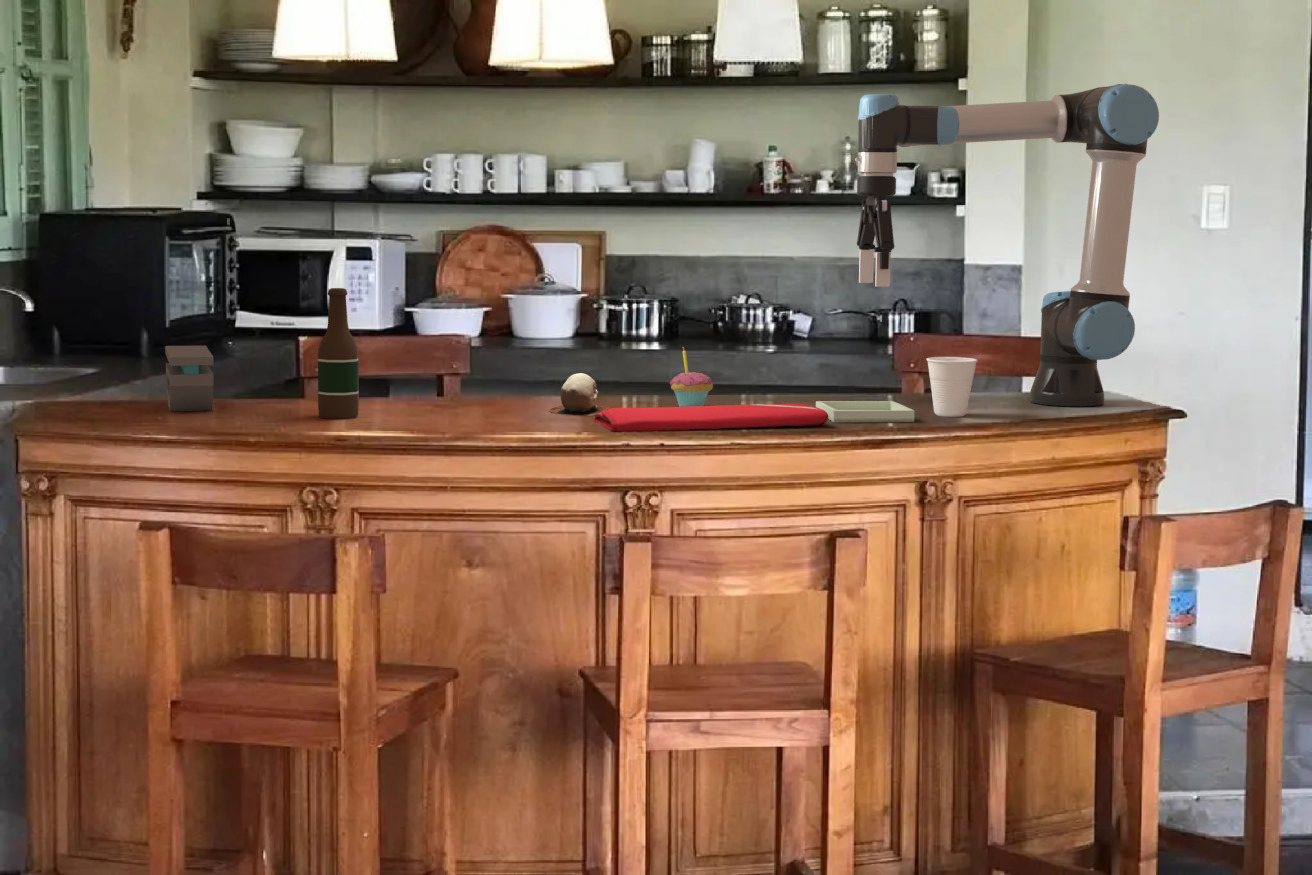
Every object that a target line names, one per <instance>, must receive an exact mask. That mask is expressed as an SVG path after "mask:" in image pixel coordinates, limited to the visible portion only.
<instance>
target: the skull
mask: <svg viewBox="0 0 1312 875" xmlns="http://www.w3.org/2000/svg"><path fill="white" fill-rule="evenodd" d="M598 394H599V391H598V390H597V383H596V381H595V380H594V379H593V378H592V377H591V376H590V375H588V374H586V373H583V372H581V373H574V374H571V375H570V376H568V378H567V379H566V381H565V382H564V383H563V385H562V386H561V389H560V400H561V401H560V402H561V404H562V405H559V406H554V407H552V408H550V410H549V412H550V413H552V414H556V415H577V416H588V417H589V416H590V417H591V416H595V415H596V414H598V413H600V414H602V411H603V410H605V409H611V407H609V406H605V405H597V402H596V401H597V400H596V399H597V396H598Z"/></svg>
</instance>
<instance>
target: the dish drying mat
mask: <svg viewBox="0 0 1312 875" xmlns="http://www.w3.org/2000/svg"><path fill="white" fill-rule="evenodd" d="M610 408H611V407H610ZM827 421H829V420H828V414H827V412H826V411H824V410H822V409H820V408H817V407H816V406H814V405H810V404H806V403H805V404H804V403H773V404H753V403H752V404H726V405H725V404H724V405H721V404H720V405H719V404H718V405H704V406H690V407H679V406H661V407H660V406H659V407H658V406H656V407H655V406H653V407H614V408H611V409H605V410H603V411H602V414H600V413H598V414H596V415H594V422H595V423H597V424H599V425H601V426H602V427H604V428H606V429H608V430H609V431H610V432H649V431H651V432H653V431H654V432H656V431H657V432H659V431H664V432H665V431H691V430H690V429H710V430H723V429H722V428H735V429H758V427H764V428H781V427H780V426H795V427H813V425H817V426H822V425H824V424H826V423H827ZM720 428H721V429H720Z"/></svg>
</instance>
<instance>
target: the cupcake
mask: <svg viewBox="0 0 1312 875" xmlns="http://www.w3.org/2000/svg"><path fill="white" fill-rule="evenodd" d="M682 350H683V351H682V357H683V358H682V359H683V365H684V372H682V373H679V374H677V375H676V376H674V377H673V378H672V379H671V380H670V381H669V385H670V388H671V390H673V392H674V395H675V397H676V400H677V403H678V407H690V406H705V401H706V399H707V396H708V394H709V392H711V391H712V390H713V388H714V384H713V380H712V379H711V378H710V376H708V375H706V374H705V373H702V372H697V371H696V372H695V371H693V372H692V371H689V367H688V356H687V351H686V350H685V348H684V346H682Z"/></svg>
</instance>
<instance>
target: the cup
mask: <svg viewBox="0 0 1312 875" xmlns="http://www.w3.org/2000/svg"><path fill="white" fill-rule="evenodd" d="M926 361H927V367H928V375H929V381H930V390H931V396H932V405H933V407H932V408H933V413H934V414H935V416H939V417H944V418H945V417H946V418H947V417H949V418H956V417H957V418H959V417H964V416H965V415H966V414H967V411H968V406H969V401H970V400H969V399H970V395H971V390H972V385H973V380H974V376H975V370H976V366H977V363H978V359H977V358H972V357H961V356H934V357H933V356H932V357H927V358H926Z"/></svg>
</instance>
